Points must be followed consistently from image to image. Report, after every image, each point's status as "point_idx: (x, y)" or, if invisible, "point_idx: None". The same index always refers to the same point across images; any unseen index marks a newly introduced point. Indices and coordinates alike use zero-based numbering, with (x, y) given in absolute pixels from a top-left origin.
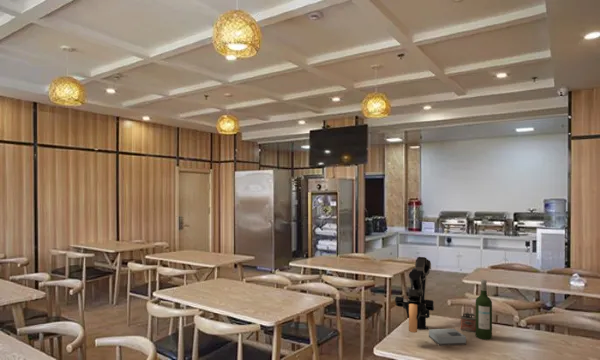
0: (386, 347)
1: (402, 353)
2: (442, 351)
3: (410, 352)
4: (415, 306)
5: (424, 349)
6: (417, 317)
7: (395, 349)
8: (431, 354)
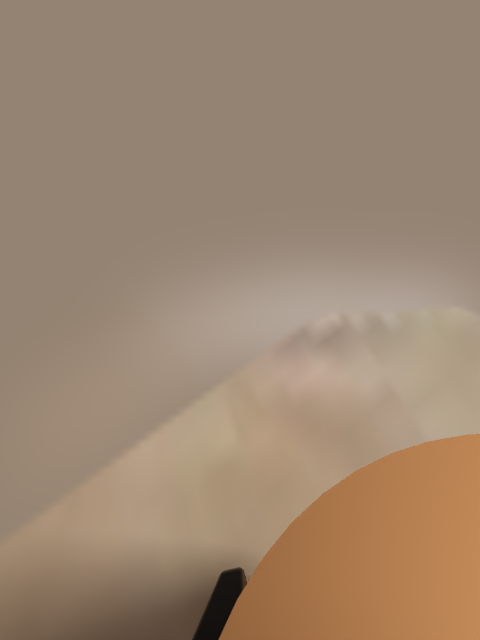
0: (472, 373)
1: (308, 342)
2: (25, 610)
3: (267, 396)
4: (257, 585)
5: (188, 546)
6: (225, 588)
7: (391, 380)
8: (112, 462)
